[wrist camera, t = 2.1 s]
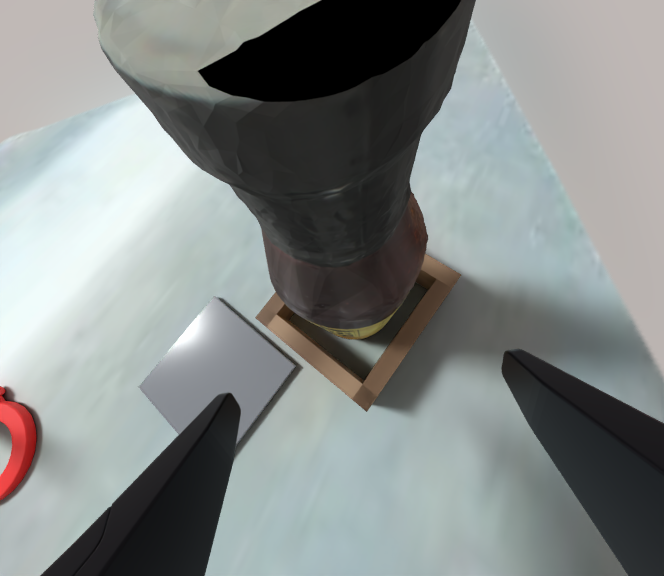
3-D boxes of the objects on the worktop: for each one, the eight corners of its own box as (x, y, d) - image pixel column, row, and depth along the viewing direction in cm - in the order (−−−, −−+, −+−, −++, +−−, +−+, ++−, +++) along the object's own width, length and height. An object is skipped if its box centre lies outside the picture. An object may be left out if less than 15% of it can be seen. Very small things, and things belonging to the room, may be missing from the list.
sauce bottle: (305, 297, 22) (-71, -46, 3) (362, 255, 22) (311, -287, 4) (349, 360, 20) (36, 394, 1) (411, 314, 20) (889, -215, 2)
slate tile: (296, 365, 21) (295, 365, 20) (217, 471, 20) (213, 474, 19) (217, 297, 24) (214, 296, 23) (143, 386, 22) (138, 387, 22)
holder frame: (449, 286, 21) (461, 274, 18) (367, 403, 19) (366, 411, 16) (347, 224, 24) (344, 206, 21) (270, 322, 22) (255, 317, 19)
